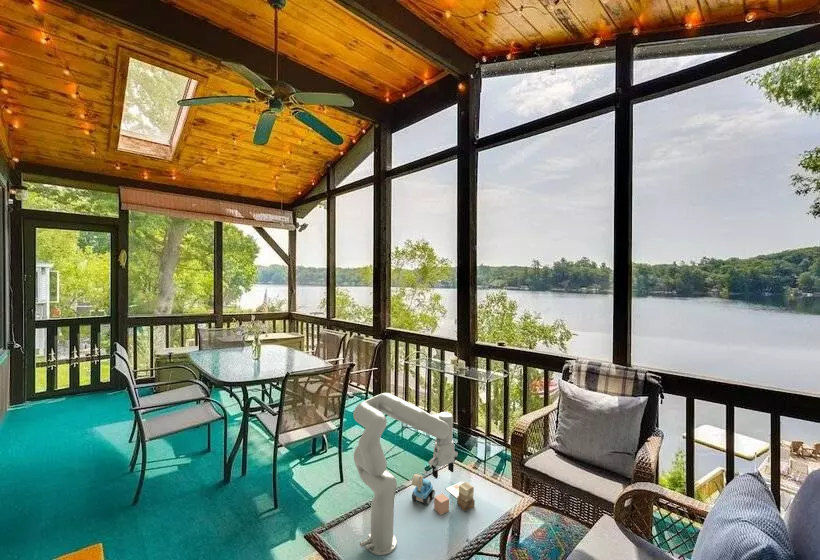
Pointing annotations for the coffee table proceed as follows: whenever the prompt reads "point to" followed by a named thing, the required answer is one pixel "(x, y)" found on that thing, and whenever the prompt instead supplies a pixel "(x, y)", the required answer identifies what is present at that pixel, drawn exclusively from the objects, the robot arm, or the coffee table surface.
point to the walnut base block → (465, 504)
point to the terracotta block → (441, 504)
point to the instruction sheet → (454, 489)
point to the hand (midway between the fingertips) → (442, 473)
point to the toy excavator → (422, 489)
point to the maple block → (466, 492)
